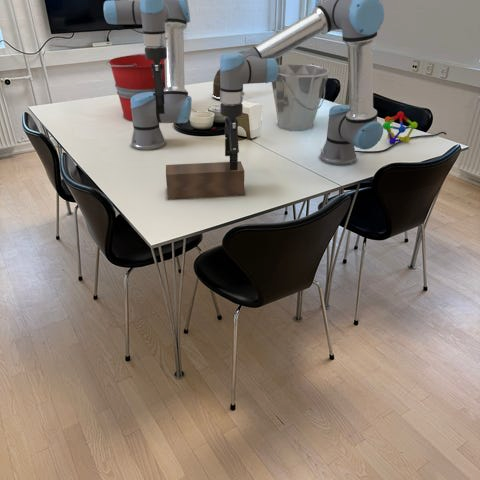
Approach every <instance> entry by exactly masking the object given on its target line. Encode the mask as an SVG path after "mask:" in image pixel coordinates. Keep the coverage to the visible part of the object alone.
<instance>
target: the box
mask: <svg viewBox="0 0 480 480" xmlns="http://www.w3.org/2000/svg"><path fill="white" fill-rule="evenodd" d="M165 182H166V192H167V194H166V195H167V201H168V200H169V201H170V200H187V199H201V198H205V199H206V198H219V197H222V198H223V197H235V196H236V197H237V196H238V197H239V196H244V195H245V169H244V165H243V163H242V161H241V160H238V170H230V161H218V162H198V163H179V164H178V163H177V164H165Z"/></svg>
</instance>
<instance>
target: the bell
mask: <svg viewBox="0 0 480 480" xmlns="http://www.w3.org/2000/svg"><path fill="white" fill-rule="evenodd" d="M212 83H213V84H212V95H214V96H216V97H220V87H221V85H220V68H218V70H217V71H216V73H215V75H214V78H213V81H212Z"/></svg>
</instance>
